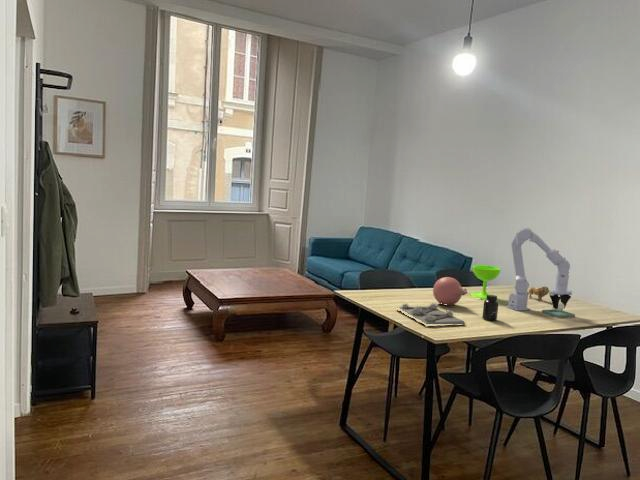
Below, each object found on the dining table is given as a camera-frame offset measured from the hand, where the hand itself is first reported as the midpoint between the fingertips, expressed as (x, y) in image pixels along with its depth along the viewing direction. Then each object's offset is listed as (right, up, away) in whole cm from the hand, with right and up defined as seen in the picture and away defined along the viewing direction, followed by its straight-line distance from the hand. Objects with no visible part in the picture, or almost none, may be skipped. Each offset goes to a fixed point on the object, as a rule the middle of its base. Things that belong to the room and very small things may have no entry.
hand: (558, 308), depth 264 cm
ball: (0, -1, 0) cm, 1 cm away
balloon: (-56, 0, +6) cm, 57 cm away
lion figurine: (+4, 0, +35) cm, 36 cm away
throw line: (-1, -2, +8) cm, 8 cm away
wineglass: (-29, +2, +33) cm, 44 cm away
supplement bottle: (-43, -3, -17) cm, 46 cm away
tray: (0, -3, 0) cm, 3 cm away
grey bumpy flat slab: (-73, -2, -21) cm, 76 cm away
